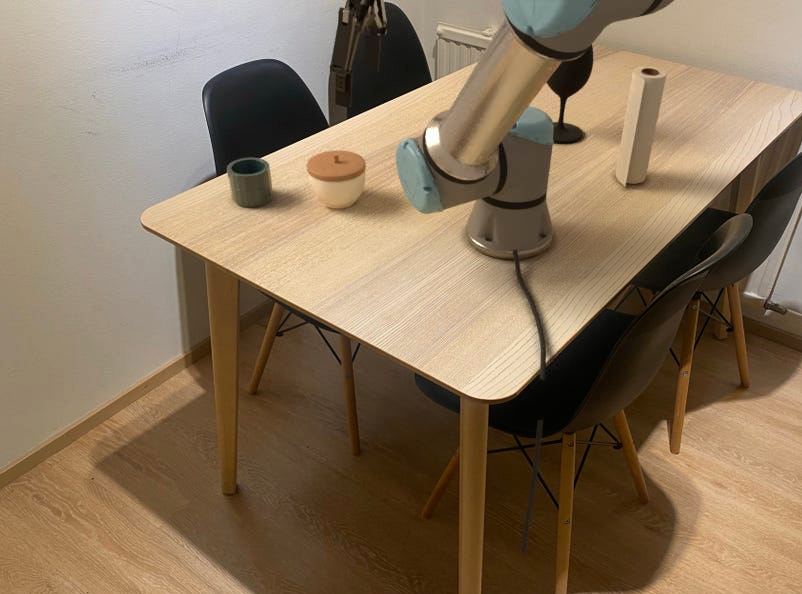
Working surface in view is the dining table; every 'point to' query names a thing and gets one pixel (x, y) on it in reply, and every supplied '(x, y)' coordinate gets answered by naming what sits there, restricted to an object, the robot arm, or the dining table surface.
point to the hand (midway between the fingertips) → (357, 86)
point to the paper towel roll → (640, 124)
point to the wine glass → (569, 92)
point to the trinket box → (337, 177)
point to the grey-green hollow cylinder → (250, 182)
